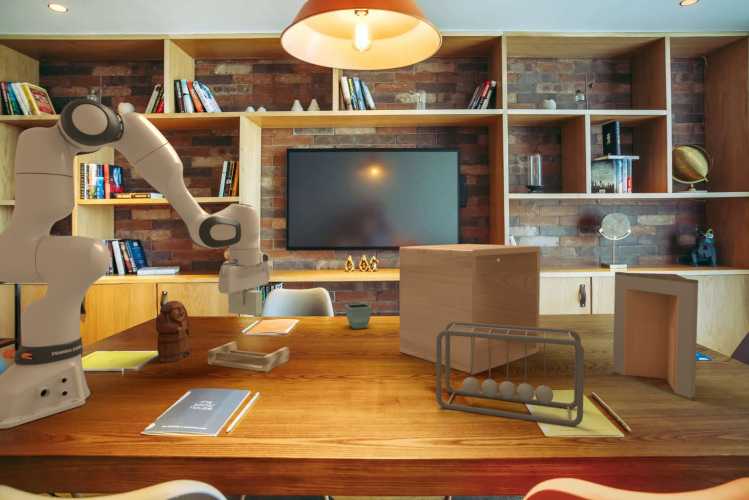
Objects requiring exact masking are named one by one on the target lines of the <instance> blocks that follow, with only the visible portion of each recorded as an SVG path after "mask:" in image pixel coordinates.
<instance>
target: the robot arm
mask: <svg viewBox="0 0 749 500" xmlns="http://www.w3.org/2000/svg"><path fill="white" fill-rule="evenodd" d="M17 139H18V140H17V144H16V149H15V157H14V188H15V189H14V191H15V192H14V206H13V207H14V208H13V212H12V215H11V217H10V220H9V221H8V224H7V225H6V226H5V228H4V229H3V230H2V231H1V232H0V283H1V282H2V283H7V284H8V283H9V284H15V285H16V284H17V285H18V284H20V285H22V284H46V285H47V286H46V287H47V288H46V291H45V294H44V295H43V296H42V297H40V298H38V299H36V300H34V301H33V302H30V303H29V304H27V306H25V308H24V309H23V311H22V312H21V315H20V324H21V325H20V327H21V328H20V329H21V344H20V345H19V348H18V349H17V350H16V349H10V348H6V349H4V350H3V351H2V354H1V355H2V357H4V359H9V360H11V359H14V361H13V364H12V365H11V366H9V367H8V368H7V369H6V370H5V371H4V372H3V373H1V374H0V429H9V428H13V427H16V426H19V425H22V424H27V423H28V422H33V421H35V420H38V419H42V418H45V417H48V416H51V415H55V414H57V413H61V412H64V411H68V410H71V409H73V408H77V407H80V406H83V405H85V404H86V400H87V398H88V397H89V396H90V395H91V390H90V389H89V387H88V384H87V380H86V377H85V372H84V366H83V360H82V357H83V351H84V349H83V348H84V347H83V338H82V337H81V333H80V330H81V328H80V327H81V326H80V325H81V324H80V321H81V320H80V319H81V307H82V303H83V300H84V297H85V296H86V293H87V292H88V291H89V289H90V288H91V287H92V285H93V284H94V283H96V282H97V281H98V280H100V279H101V278H102V277H103V276H105V275H106V273H107V272H108V270H109V268H110V266H111V261H112V258H111V257H112V256H111V251H110V249H109V247H108V246H107V244H106V243H105V242H104V241H102V240H101V239H100V238H99V239H98V238H94V237H89V236H82V235H50V232H51V230H52V227H53V226H54V225H55V223H56V222H58V221H61V220H62V219H65V218H67V217H68V216H69V215H71V214H72V213H73V211H74V209H75V206H76V200H75V199H76V198H75V197H76V195H75V173H74V163H75V157H77V156H83V155H89V154H93V153H97V152H99V151H101V150H102V149H103V148H104V147H109V148H112V149H115V150H116V151H118V152H119V153H120V154H121V155H123V156H124V157H125V159H126V160H127V161H128V163H129V164H130V165H131V166H132V168H133V169H134V171H136V172H137V173H138V174H139V175H140V177H142V178H143V179H144V180H145V181H146V183H148V184H149V185H150V186H152V187H153V188H154V189H155V190H156V191H157V192H159V194H161V195H162V196H163V197H164V198H165V200H166V201H167V202H168V203H169V205H170V206H171V208H172V209H173V210H174V211H175V212H176V213H177V215H178V217H180V219H181V221H182V222H183V223H184V226H185V229H186V233H187V236H188V239H189V240H190V242H191V243H192V244H194V245H195V246H197V247H199V248H204V249H205V248H206V249H208V248H209V249H213V250H214V249H215V250H216V249H221V248H224V247H228V257H229V258H228V259H229V260H225V261H224V262H223V263H222V264H221V265H220V270H219V275H218V285H217V286H218V287H217V288H218V291H219V293H220V294H225V295H226V294H227V295H228V294H231V293H234V295H235V297H236V299H237V305H240V306H241V305H244V304H245V299H243V297H242V294H243V290H246V289H248V290H257V289H258V287H262V286H265V285H268V284H269V282H270V277H271V276H270V274H271V272H270V271H271V270H270V263H269V262H270V260H271V259H270V254H268V253H265V252H262V251H261V248H260V242H259V238H260V222H259V221H260V220H259V213H258V211H257V209H256V208H255V207H254V206H252V205H250V204H245V203H239V202H234V203H231V204H229V206H227V207H225V208H224V209H222V210H219V211H217V212H214V213H212V214H210V213H208V212H206V211H205V210H203V208H202V207H201V206H200V205H199V203H198V202H197V201H196V199H195V198H194V196H193V195H192V194H191V193H190V191H189V190H188V188H187V186H186V184H185V182H184V175H183V172H184V166H183V163H182V161H181V159H180V157H179V155H178V153H177V152H176V150H175V148H174V147H173V146H172V145H171V143H170V142H169V141H168V140H167V139H166V137H165V136H164V135H163V134H162V132H161V131H160V130H159V129H158V128H157V127H156V126H155V125H154V124H152V122H151V121H150V120H149V119H147V118H146V117H145V116H144V115H142V114H141V113H139V112H132V111H131V112H125V113H122V114H120V112H118V111H117V110H113V109H112V108H110V107H107V106H106V105H105V104H102V103H100V102H99V101H97V100H93V99H90V98H78V99H74V100H72V101H70V102H69V103H67V104H66V105H65V106H63V108H62V110H61V113H60V115H59V116H58V119H57V121H56V124H55V125H54V126H51V127H42V126H39V127H30V128H27V129H25V130H23V131H22V132H20V134H19V135H18V138H17Z"/></svg>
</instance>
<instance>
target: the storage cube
mask: <svg viewBox="0 0 749 500" xmlns="http://www.w3.org/2000/svg"><path fill="white" fill-rule="evenodd" d="M398 250H399V253H398V254H399V352H400V353H402V354H404V355H409V356H411V357H415V358H418V359H421V360H425V361H428V362H431V363H434V364H436V340H437V336H438V334H439V333H440V332H441V331H443V330H445V329H446V326H447V325H448V324H449V323H451V322H467V323H481V324H495V325H510V326H524V327H538V328H540V291H541V290H540V288H541V286H540V285H541V281H540V280H541V279H540V278H541V277H540V276H541V275H540V274H541V247H540V245H515V244H514V245H511V244H509V245H508V244H506V245H505V244H478V243H474V244H473V243H465V244H464V243H461V244H460V243H459V244H457V243H456V244H455V243H454V244H438V245H434V244H432V245H415V246H414V245H412V246H409V245H408V246H400V247H399V249H398ZM451 330H457V331H470V332H474V328H468V327H453V328H452V329H451ZM472 330H473V331H472ZM490 330H491V329H481V328H475V332H483V333H489V332H490V333H491V331H490ZM492 333H496V334H507V333H508V330H495V329H492ZM509 335H522V336H526V332H522V331H509ZM527 336H535V337H540V333H535V332H527ZM473 338H474V349H473ZM490 349H491V369H494V368H496V367H499V366H502V365H505V364H507V356H508V340H500V339H488V338H476V337H472V341H471V337H463V336H451V335H450V369H453V370H457V371H460V372H463V373H466V374H469V375H471V370H472V376H473V375H476V374H479V373H483V372H485V371H489V351H490ZM539 350H540V343H537V342H527V357H528V356H531V355H534V354H537V353H539V352H540V351H539ZM472 354H473V366H472ZM523 358H525V341H512V340H509V357H508V363H511V362H514V361H517V360H520V359H523ZM442 366H444V367H445V336H443V337H442Z"/></svg>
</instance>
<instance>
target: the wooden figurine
mask: <svg viewBox="0 0 749 500" xmlns="http://www.w3.org/2000/svg"><path fill="white" fill-rule="evenodd" d="M190 330H191V329H190V322H189V316H188V311H187V309H186V307H185V305H184V304H183V303H182V302H181V301H179V300H170V301H166V302H165V303H164V304H162V306H161V307H160V310H159V314H157V316H156V319H155V331H156V332H158V336H157V340H156V341H157V343H156V345H157V355H158V359H159V362H160V363H171V362H177V361H180V360H182V359H183V358H185V357H187V356H188V354H191V350H190V342H189V335H190V333H191V331H190Z"/></svg>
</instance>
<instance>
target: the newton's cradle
mask: <svg viewBox="0 0 749 500" xmlns="http://www.w3.org/2000/svg"><path fill="white" fill-rule="evenodd" d="M453 327H468V328H474V332H470V331H457V330H451V329H452V328H453ZM475 328H481V329H491V330H490V331H491V333H490V332H489V333H483V332H475ZM492 329H495V330H508V333H507V334H496V333H492ZM472 331H473V330H472ZM509 331H522V332H526V336H522V335H509ZM527 332H535V333H539V334H543V335H544V336H539V337H535V336H527ZM546 334H552V335H562V336H568V337H569V338H559V337H546ZM450 335H451V336H463V337H471V341H472V337H476V338H488V339H500V340H508V356H507V363H506V381H502V382H501V383H500V385H498V383H497V382H496V381H495V380H494V379H491V374H492V372H491V370H492V368H491V349H490V351H489V369H488V376H489V377H488V379H485V380H484V381H482V383H481V386H480V383H479V381H478V380H477V378H475V377H473V375H472V370H471V374H470V376H469V377H466V378H465V379H464V380H463V381H462V389H455V388H453V387H452V386H451V379H450V378H451V368H450ZM443 336H445V366H444V372H445V373H444V374H445V375H444V376H445V378H444V379H445V380H444V381H445V382H444V383H445V388H446V390H447V391H448V392H449V393H450V394H451V396H450V398H449V399H448V401H447V402H445V401H444V400H443V399H442V366H443V365H442V337H443ZM572 337H573V338H574V339H573V338H572ZM509 340H512V341H525V357H524V360H525V361H524V368H525V369H524V374H525V375H524V379H525V380H524V383H520V384H519V385H517V387H516V386H515V384H514V383H513V382H511V381H509V362H508V357H509ZM581 341H582V340H581V337H580V335H579V333H578V332H576V331H575V330H572V329H565V328H564V329H562V328H552V327H551V328H549V327H539V328H538V327H524V326H510V325H495V324H481V323H467V322H451V323H449V324H448V325H447V326H446V329H445V330H443V331H441V332H440V333H439V334H438V336H437V340H436V363H435V364H436V365H435V366H436V377H435V378H436V381H435V382H436V386H435V388H436V393H435V394H436V401H437V403H438V405H439V406H440V407H442V408H443V409H447V410H453V411H460V412H467V413H469V412H470V413H473V414H474V413H475V414H481V415H488V416H495V417H504V418H510V419H516V420H524V421H530V422H538V423H545V424H546V423H547V424H551V425H559V426H567V427H576V426H579V425H580V424H581V423H582V421H583V418H584V384H585V383H584V379H585V377H584V376H585V375H584V374H585V371H584V370H585V369H584V368H585V351H584V347H583V345H582V343H581ZM527 342H537V343H539V344H540V343H541V344H543V345H544V346H543V347H544V348H543V354H544V355H543V385H539V386H537V388H536V389H534V388H533V386H532V385H531V384H529V383H527V357H528V356H527ZM546 344H548V345H549V344H551V345H552V344H553V345H564V346H573V347H574V380H573V381H574V382H573V383H574V384H573V385H574V386H573V390H574V391H573V400H572V402H569V403H568V402H559V401H553V400H554V392H553V389H551V388H550V387H549V386H547V385H546V382H545V381H546V376H545V375H546V368H545V367H546ZM473 349H474V338H473ZM472 366H473V354H472ZM480 387H481V391H479V389H480ZM498 392H499V394H497V393H498ZM454 395H459V396H460V395H461V396H466V397H468V396H469V397H476V398H483V399H491V400H497V401H506V402H513V403H522V404H530V405H536V406H537V405H538V406H545V407H550V408H551V407H553V408H560V409H567V417H568V419H563V418H555V417H546V416H539V415H533V414H526V413H525V414H524V413H519V412H510V411H504V410H497V409H489V408H483V407H475V406H467V405H460V404H452V403H451V401H452V399H453V397H454ZM516 395H517V396H516ZM534 397H535V398H534ZM575 408H576V418H574V419H571V411H570V409H571V410H572V409H575Z"/></svg>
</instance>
